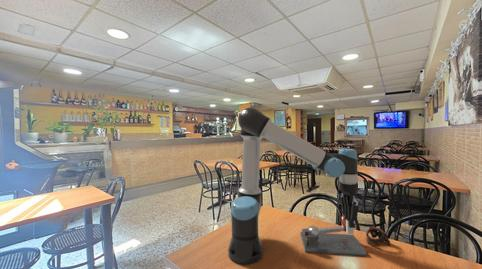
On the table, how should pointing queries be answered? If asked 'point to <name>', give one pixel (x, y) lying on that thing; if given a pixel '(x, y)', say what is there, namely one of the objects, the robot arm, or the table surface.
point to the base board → (333, 244)
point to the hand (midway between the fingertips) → (349, 233)
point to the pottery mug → (381, 236)
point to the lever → (324, 229)
